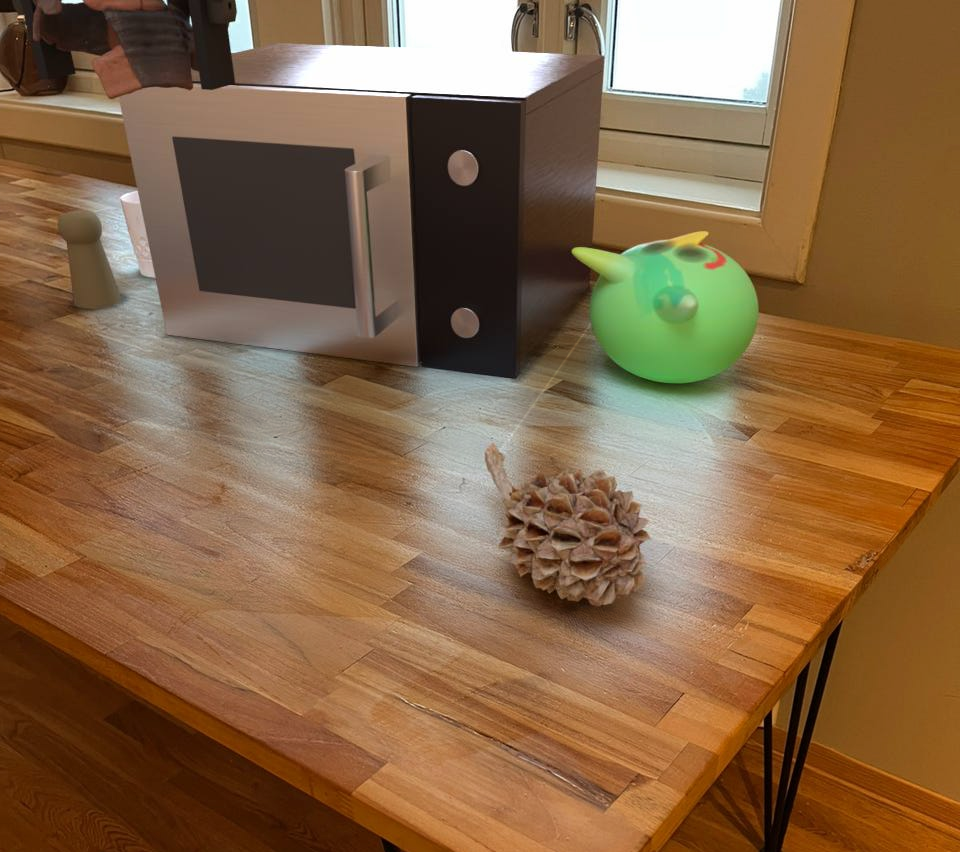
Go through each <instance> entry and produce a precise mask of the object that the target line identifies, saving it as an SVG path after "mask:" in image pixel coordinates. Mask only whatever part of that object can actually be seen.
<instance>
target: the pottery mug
mask: <svg viewBox="0 0 960 852" xmlns="http://www.w3.org/2000/svg"><path fill="white" fill-rule="evenodd" d="M32 1H33V2H34V4H35V6H36V7H37V8H36V11H35V13H34V20H33V39H34V40H35V41H39V40H40V39H41V37H42V39H43V40H44V41H45V42H47V43H48V44H53V43H54V42H55V43H56V44H55V45H56V48H57V49H59V50H62V51H71V52H78V53H83V54H84V53H85V54H88V55H93V56H97V57H95V58H94V59H92V60H91V65H92V68H93V70H94V71H93V72H94V73H95V75H96V76H97V77H98V79H99V81H100V83H101V86H102V88H103V90H104V92H105V95H106V97H107V98H108V99H109V100H115V99H117V98H119V97H120V96H122V95H125V94H130V93H133V92H135V91H137V90H141V89H143V88H149V87H161V88H172V87H178V88H184V89H187V90H192V89H193V82H192V74H191V68H192V69H193V70H195V71H199V69H198V62H197V56H196V49H195V43H194V36H193V30H192V23H191V17H190V10H189V3H188V0H167V3H166V2H165V0H82V2H81V1H80V2H75V3H73V2H63V0H32ZM227 25H228V28H229V27H230V23H227Z"/></svg>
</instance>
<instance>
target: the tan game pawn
mask: <svg viewBox="0 0 960 852" xmlns="http://www.w3.org/2000/svg"><path fill="white" fill-rule="evenodd" d="M57 229H58V233H59V235H60V237H61V238H62V239H63V240H64V241H65V242H66V251H67V257H68V266H69V275H70V282H71V290H72V299H73V305H74V306H76V307H78V308H82V309H83V308H84V309H97V308H98V309H99V308H104V307H110V306H112V305H116V304H118V303H120V302H121V301H122V295H121V292H120V289H119V287H118V283H117V281H116V279H115V275H114V273H113V271H112V267H111V265H110V262H109V259H108V257H107V254H106V251H105V248H104V245H103V243H102V240H101V237H102V235H103V226H102V222H101V219H100V217H99V216H98V215H97V214H96V213H95V212H92V211H89V210H73V211H72V210H71V211H67V212H64V213H62V214H61V215H60V216H59V217H58V220H57Z"/></svg>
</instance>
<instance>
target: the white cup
mask: <svg viewBox="0 0 960 852" xmlns="http://www.w3.org/2000/svg"><path fill="white" fill-rule="evenodd" d="M119 201H120V205H121V208H122V212H123V216H124V220H125V225H126V228H127V232H128V234H129V238H130V242H131V245H132V249H133V253H134V256H135V257H136V261H137V265H138V268H139V269H138V270H139V272H140V274H141V276H144V277H147V278H153V279H154V278H155V273H154V268H153V263H152V258H151V253H150V249H149V244H148V239H147V234H146V229H145V224H144V219H143V214H142V209H141V204H140V200H139V195H138V190H134V191H130V192H127V193H124V194H123V195H121V196H120V197H119ZM155 279H156V278H155Z"/></svg>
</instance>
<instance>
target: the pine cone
mask: <svg viewBox="0 0 960 852" xmlns="http://www.w3.org/2000/svg"><path fill="white" fill-rule="evenodd" d="M505 459H506V455H505V453H503V452H500V450H499V448H498V446H497V444H495V442H492V441H490V444H489V445H488V446H487V448H486V449H485V450H484V462H485V465H486V469H487V470H488V472H489V473H490V476H491V479H492V481H493V483H494V485H495V487H496V488H497V491H498V492H499V493H500V496H501V498H502V503H503V505H504V507H505V512H504V514H505V519H504V520H503V521H502V524H501V526H500V527H499V528H498V529H497V531H496V533H495V535H498V536H501V537H503V538H502V539H501V541H500V542H499V544H498V548H499V550H506V549H509V550H510V551H512V553H511V554H510V555H509V561H510V563H511V564H513V565H514V568H516V570H517V572H518V574H519V577H523V576H524V575H526V574H528V573H529V574H531V578H532V582H533V586H534V588H535V589H541V590H542V591H545V590H547V593H548V594H551V593H552V592H554V591H555V590H556V592H557V595H558V597H559V598H560V599H561V600H563V599H565V598H566V599H567V601H568V602H569V601H573V602H577V603H579V602H580V601H581V600H582V599H583V598H584V599H587V600H588V602H589V604H591V605H592V606H594V607H602V605H603V606H606V605H609V604H610V605H611V604H613V603H614V601H615V600H616V598H617V596H618V595H622V596H623V595H626V596H627V595H628V596H633V595H634V594H635V593H636V591H638V590H639V589H641V588H642V587H644V586H645V585H646V582H645V578H644V573H643V571H641V570H642V569H643V568H644V567H645V566H647V565H648V563H647V562H646V557H647V556H645V555H644V554H643V553H642V552H641V547H640V546H641V545H642V544H643V543H645V542H646V541H650V540H651V539H652V538H651V536H650V535H649V533H648V532H647V530H644V528H645V527H646V526H647V525H648V524H649V523H650V519H648V518H646V517H641V516H640V512H641V510H642V507H643V504H640V503H639V502H636V501H633V500H634V493H633V490H629V491H622V490H621V489H618V490H616V488H617V487H618V483H617V481H616V477H615V476H608V475H607V474H606V472H605V470H604V469H598V470H596V471H594V472H593V473H592V474H590V475H589V476H588V475H587V476H586V477H584V473H583V471H582V469H579V470H577V471H576V472H575V471H573V470H572V469H567V470H565V469H563V470H562V471H561V472H560V473H559V474H558V475H556V476H554V477H553V478H552V477H551V476H549V475H548V476H547V475H546V474H545V473H544V471H540V472H538V474H535V475H532V476H531V477H530V479H529V480H528V481H526V482H522V483H519V484H515V485H513V484H512V482H511V481H510V479H509V477H508V475H507V473H506V470H505V467H504V462H505Z"/></svg>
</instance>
